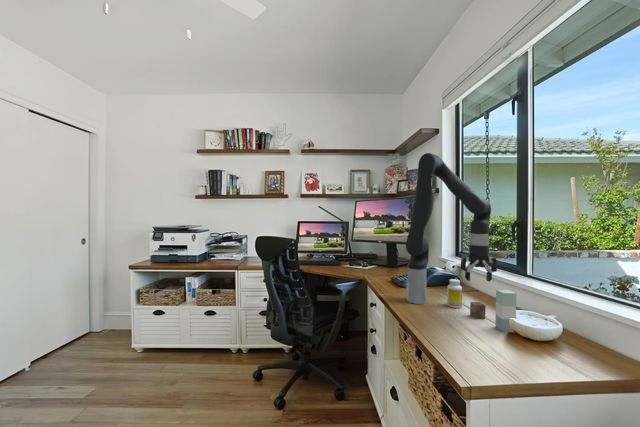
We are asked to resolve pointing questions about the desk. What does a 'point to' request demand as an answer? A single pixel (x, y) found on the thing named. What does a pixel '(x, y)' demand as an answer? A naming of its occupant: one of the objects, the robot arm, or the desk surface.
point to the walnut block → (477, 310)
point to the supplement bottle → (454, 294)
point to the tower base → (503, 324)
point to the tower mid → (505, 311)
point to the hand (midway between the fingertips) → (478, 280)
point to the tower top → (506, 298)
